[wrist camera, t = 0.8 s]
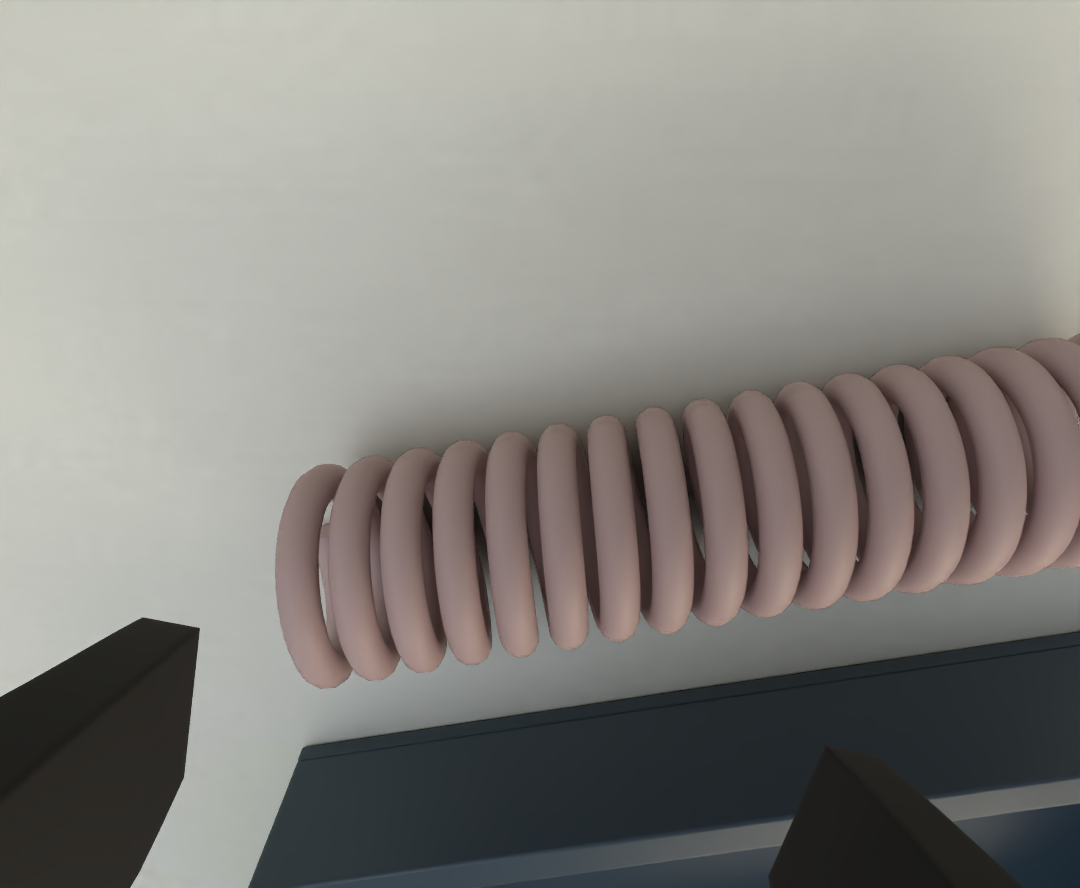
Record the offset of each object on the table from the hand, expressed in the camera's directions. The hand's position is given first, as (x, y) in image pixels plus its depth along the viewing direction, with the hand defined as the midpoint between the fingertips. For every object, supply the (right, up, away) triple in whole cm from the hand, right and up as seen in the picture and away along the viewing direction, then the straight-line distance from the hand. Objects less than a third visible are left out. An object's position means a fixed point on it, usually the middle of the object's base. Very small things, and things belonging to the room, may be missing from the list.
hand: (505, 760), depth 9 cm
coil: (+4, +3, +10) cm, 11 cm away
